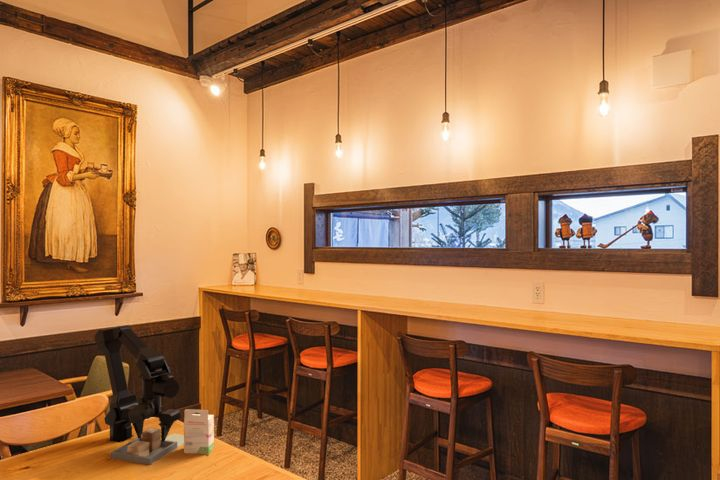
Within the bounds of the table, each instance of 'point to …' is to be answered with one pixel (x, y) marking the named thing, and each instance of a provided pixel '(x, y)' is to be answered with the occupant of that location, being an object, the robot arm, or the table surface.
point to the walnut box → (152, 438)
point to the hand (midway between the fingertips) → (151, 439)
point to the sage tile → (176, 439)
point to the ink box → (198, 432)
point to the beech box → (138, 448)
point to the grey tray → (150, 459)
